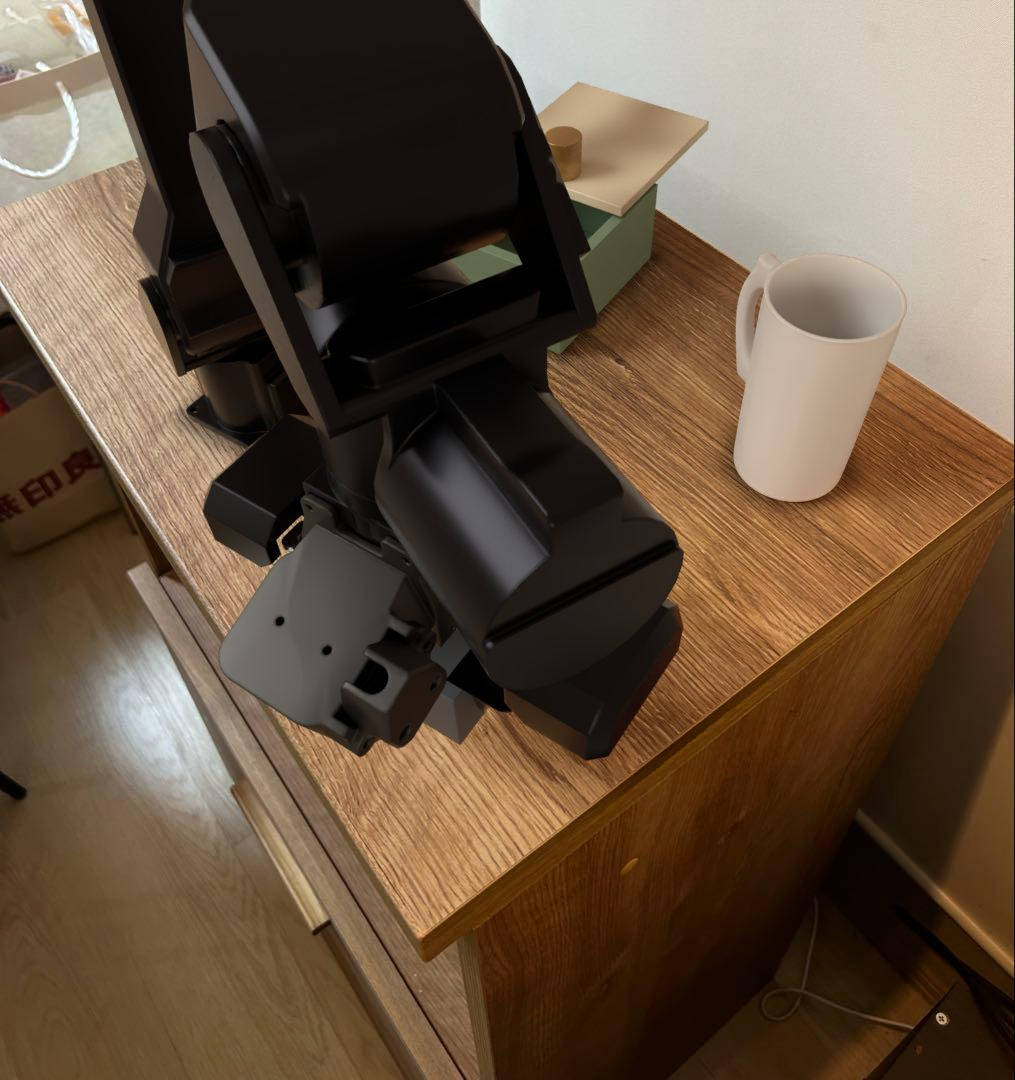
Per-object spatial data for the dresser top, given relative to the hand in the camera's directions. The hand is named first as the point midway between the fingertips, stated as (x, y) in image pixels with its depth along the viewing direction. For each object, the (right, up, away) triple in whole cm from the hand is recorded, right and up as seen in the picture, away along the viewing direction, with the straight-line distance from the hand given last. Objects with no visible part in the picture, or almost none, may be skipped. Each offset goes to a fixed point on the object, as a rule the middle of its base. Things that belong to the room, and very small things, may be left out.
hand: (448, 678), depth 44 cm
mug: (+18, +12, +14) cm, 26 cm away
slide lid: (+9, +33, +23) cm, 41 cm away
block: (0, -1, +1) cm, 1 cm away
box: (+5, +24, +24) cm, 35 cm away
